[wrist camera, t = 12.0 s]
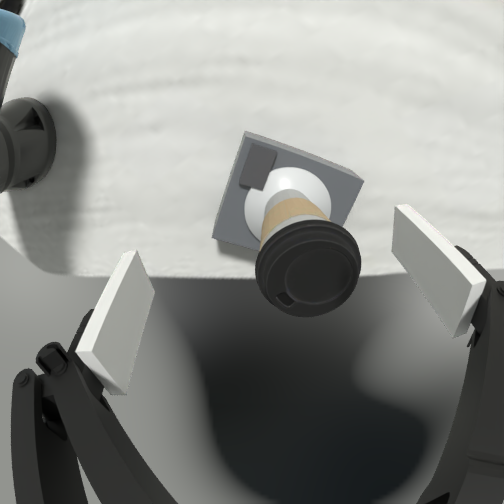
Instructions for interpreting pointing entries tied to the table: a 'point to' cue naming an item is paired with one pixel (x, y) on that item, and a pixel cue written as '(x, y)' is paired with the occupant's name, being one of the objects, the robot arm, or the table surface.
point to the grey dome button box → (279, 187)
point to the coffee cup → (304, 257)
